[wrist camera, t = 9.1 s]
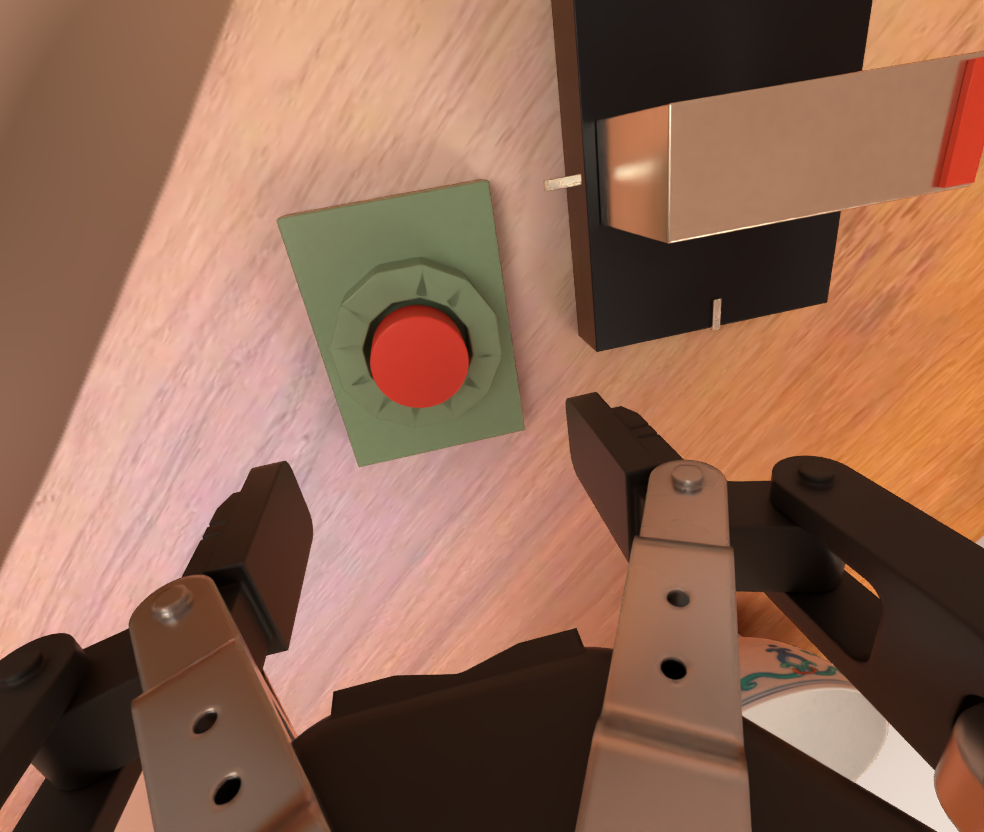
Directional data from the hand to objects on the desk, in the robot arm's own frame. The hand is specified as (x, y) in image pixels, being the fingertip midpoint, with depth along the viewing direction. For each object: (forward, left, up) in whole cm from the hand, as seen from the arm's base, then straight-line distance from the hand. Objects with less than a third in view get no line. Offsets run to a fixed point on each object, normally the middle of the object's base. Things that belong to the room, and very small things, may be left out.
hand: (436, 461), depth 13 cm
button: (0, 0, -9) cm, 9 cm away
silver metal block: (-5, +13, -9) cm, 17 cm away
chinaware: (+29, +15, -12) cm, 35 cm away
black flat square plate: (-5, +13, -12) cm, 18 cm away
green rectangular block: (0, 0, -12) cm, 12 cm away
